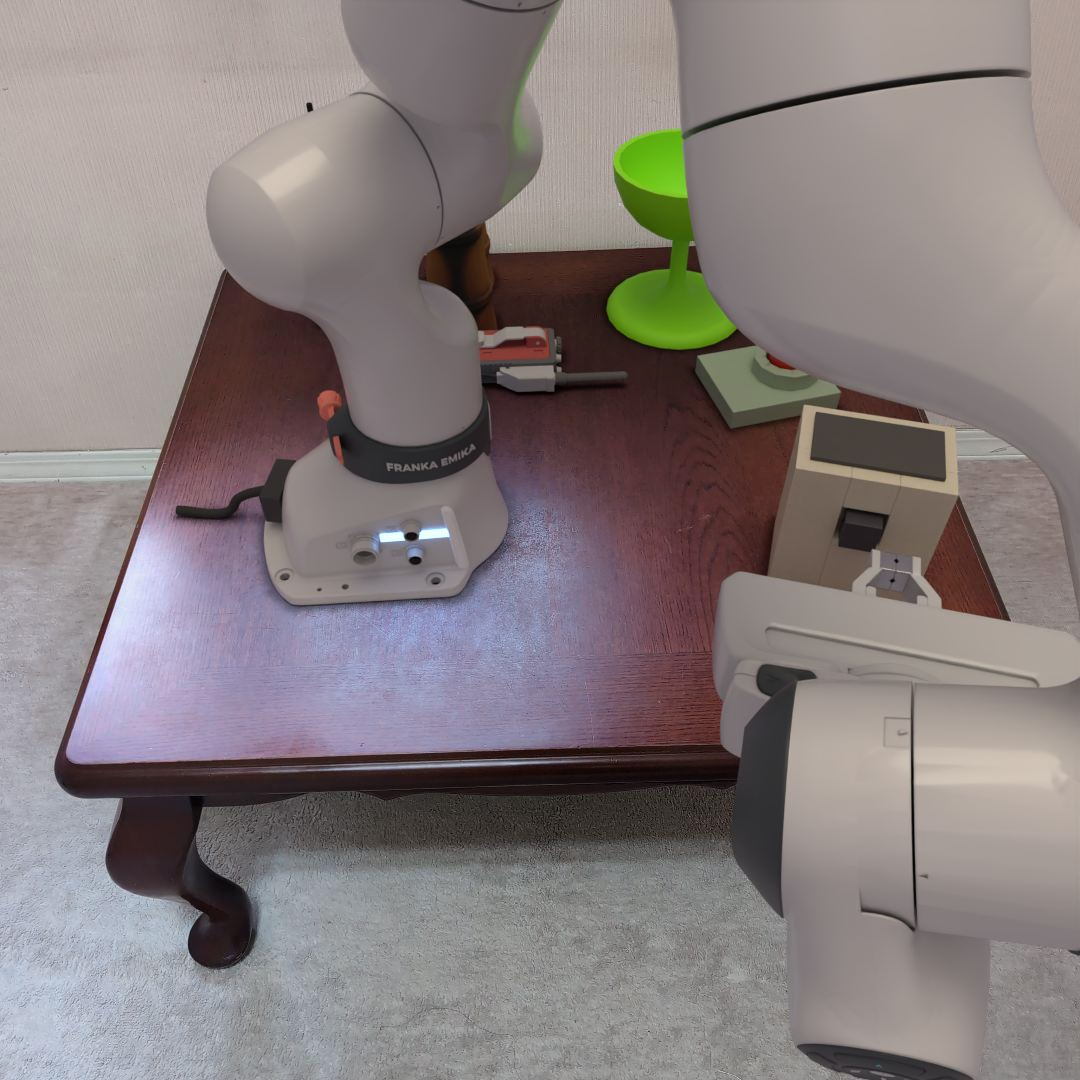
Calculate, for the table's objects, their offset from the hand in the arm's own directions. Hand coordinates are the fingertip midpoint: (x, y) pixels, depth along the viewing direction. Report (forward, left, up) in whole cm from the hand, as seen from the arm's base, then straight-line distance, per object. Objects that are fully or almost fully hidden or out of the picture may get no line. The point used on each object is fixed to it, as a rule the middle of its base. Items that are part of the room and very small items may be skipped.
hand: (892, 559), depth 59 cm
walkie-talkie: (-10, +50, -20) cm, 55 cm away
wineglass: (+9, +57, -20) cm, 61 cm away
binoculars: (-15, +65, -20) cm, 70 cm away
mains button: (+15, +40, -16) cm, 46 cm away
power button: (+7, +11, -12) cm, 18 cm away
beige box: (+9, +15, -20) cm, 26 cm away
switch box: (+13, +40, -20) cm, 46 cm away
